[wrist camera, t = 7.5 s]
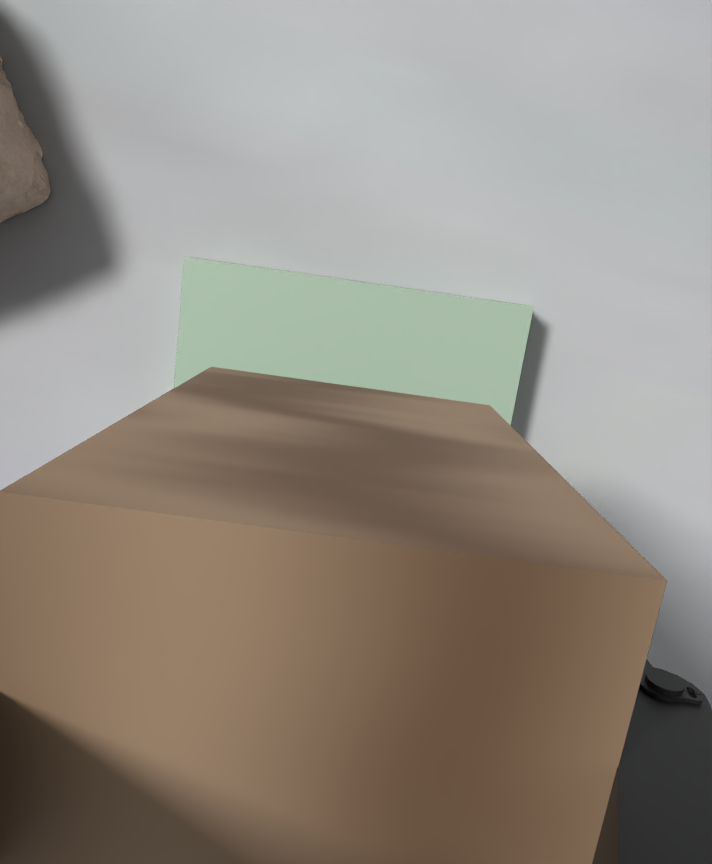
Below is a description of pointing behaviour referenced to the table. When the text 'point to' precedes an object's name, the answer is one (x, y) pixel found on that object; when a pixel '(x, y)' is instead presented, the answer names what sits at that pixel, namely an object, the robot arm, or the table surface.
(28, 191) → the brick
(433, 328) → the pad
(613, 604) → the walnut block
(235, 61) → the table surface
